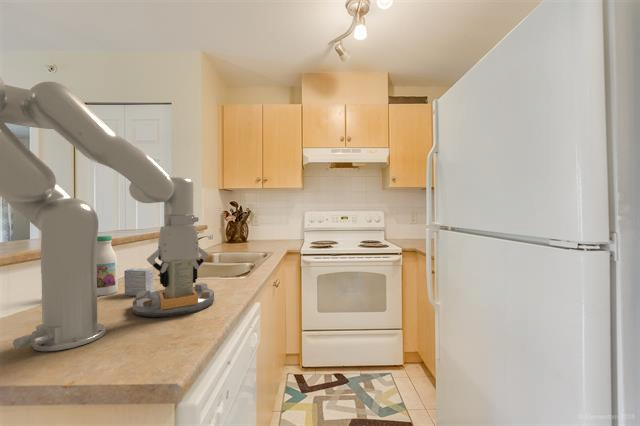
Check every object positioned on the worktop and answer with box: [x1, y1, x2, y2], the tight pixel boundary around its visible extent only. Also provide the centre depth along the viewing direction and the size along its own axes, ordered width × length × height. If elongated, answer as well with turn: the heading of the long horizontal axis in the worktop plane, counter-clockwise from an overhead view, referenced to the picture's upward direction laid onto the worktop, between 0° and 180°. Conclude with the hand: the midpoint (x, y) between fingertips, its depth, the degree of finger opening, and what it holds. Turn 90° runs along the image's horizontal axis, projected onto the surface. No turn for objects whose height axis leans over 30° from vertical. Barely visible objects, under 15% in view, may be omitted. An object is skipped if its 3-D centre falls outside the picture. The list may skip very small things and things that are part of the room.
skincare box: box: [164, 260, 194, 299], centre depth 85 cm, size 6×4×12 cm
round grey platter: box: [132, 282, 215, 318], centre depth 90 cm, size 22×22×5 cm
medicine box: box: [123, 267, 155, 297], centre depth 103 cm, size 8×4×9 cm, turn 84°
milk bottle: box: [96, 235, 119, 297], centre depth 104 cm, size 8×8×20 cm
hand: (179, 283), depth 85 cm, fingers closed on skincare box, 6 cm apart
